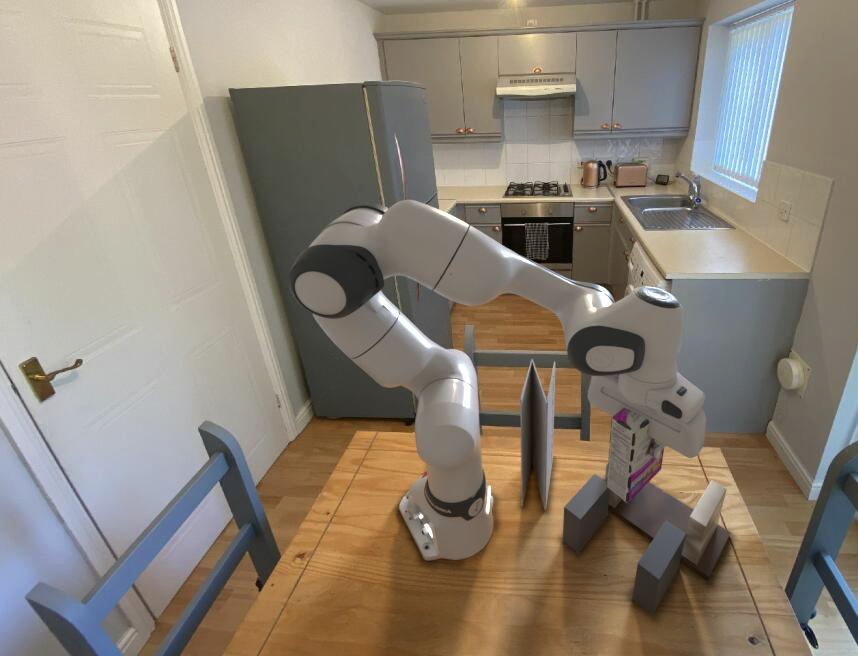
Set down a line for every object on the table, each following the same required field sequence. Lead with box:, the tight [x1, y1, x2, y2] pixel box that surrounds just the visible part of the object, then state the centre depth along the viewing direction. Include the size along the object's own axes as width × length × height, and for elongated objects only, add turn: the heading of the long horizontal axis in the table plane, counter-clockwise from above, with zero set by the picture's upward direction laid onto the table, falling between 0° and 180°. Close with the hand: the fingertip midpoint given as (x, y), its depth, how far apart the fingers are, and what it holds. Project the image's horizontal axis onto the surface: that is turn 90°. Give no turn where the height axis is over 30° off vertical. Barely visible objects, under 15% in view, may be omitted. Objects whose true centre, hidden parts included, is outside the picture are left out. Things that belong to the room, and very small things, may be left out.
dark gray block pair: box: [562, 473, 686, 616], centre depth 82 cm, size 20×11×10 cm, turn 46°
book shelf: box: [604, 462, 732, 581], centre depth 89 cm, size 26×12×12 cm, turn 46°
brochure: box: [519, 358, 556, 511], centre depth 95 cm, size 14×6×30 cm, turn 168°
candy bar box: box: [606, 408, 665, 503], centre depth 74 cm, size 11×5×16 cm, turn 131°
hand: (637, 444), depth 74 cm, fingers closed on candy bar box, 5 cm apart
